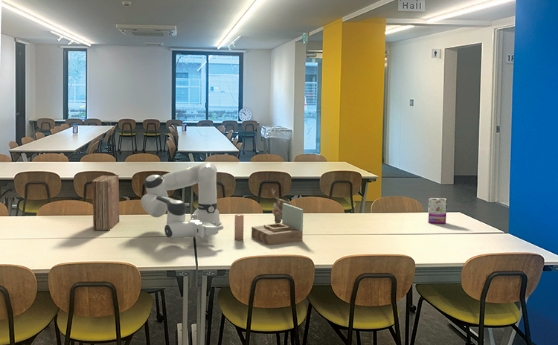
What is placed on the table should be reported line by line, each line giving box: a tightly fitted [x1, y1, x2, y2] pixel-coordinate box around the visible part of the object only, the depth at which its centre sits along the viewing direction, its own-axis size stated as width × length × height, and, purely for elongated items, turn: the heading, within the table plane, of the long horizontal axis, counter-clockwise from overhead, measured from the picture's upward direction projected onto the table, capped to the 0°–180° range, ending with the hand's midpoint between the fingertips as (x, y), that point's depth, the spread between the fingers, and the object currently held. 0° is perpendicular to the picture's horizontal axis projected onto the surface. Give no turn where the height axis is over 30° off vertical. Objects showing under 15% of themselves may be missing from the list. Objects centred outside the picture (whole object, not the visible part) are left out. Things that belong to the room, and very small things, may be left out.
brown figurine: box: [271, 187, 292, 224], centre depth 337 cm, size 11×13×25 cm
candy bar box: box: [427, 197, 448, 225], centre depth 362 cm, size 11×5×16 cm, turn 81°
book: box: [91, 174, 120, 232], centre depth 333 cm, size 25×9×30 cm, turn 3°
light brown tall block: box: [234, 214, 245, 242], centre depth 309 cm, size 5×5×14 cm
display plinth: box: [250, 203, 304, 246], centre depth 312 cm, size 20×22×18 cm
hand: (219, 225), depth 302 cm, fingers open, 8 cm apart
